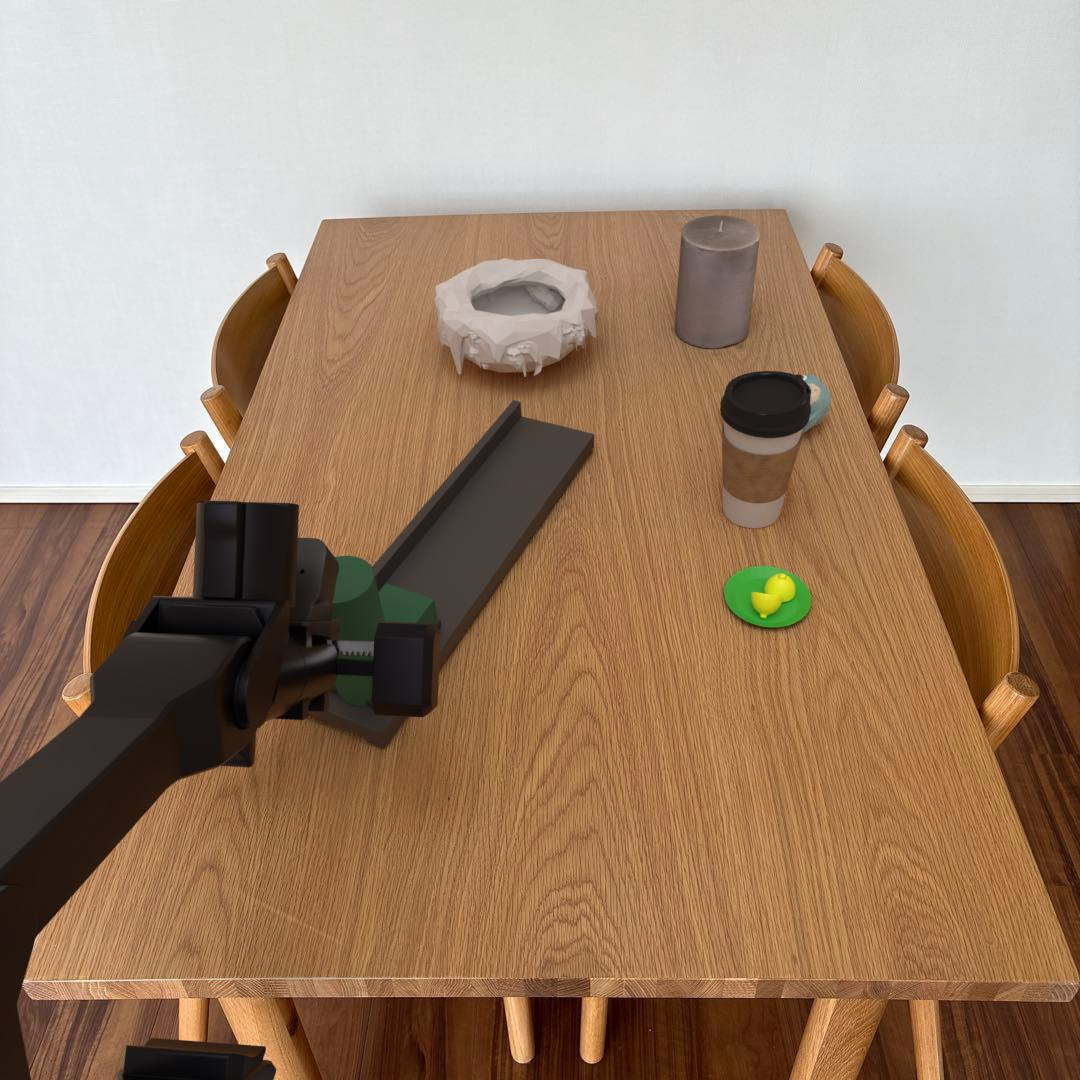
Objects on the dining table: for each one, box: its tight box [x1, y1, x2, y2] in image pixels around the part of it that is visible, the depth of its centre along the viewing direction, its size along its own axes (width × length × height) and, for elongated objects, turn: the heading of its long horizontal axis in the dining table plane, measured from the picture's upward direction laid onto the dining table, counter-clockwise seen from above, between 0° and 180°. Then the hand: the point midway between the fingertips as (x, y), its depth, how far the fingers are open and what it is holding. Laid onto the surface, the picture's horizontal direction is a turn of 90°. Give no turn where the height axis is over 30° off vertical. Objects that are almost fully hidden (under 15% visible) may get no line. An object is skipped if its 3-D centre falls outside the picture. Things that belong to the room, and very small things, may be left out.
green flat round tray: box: [723, 565, 812, 628], centre depth 89 cm, size 8×8×3 cm
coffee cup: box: [719, 370, 811, 529], centre depth 95 cm, size 8×8×15 cm
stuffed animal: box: [785, 371, 832, 434], centre depth 109 cm, size 11×7×12 cm
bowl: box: [433, 257, 599, 378], centre depth 120 cm, size 21×20×10 cm
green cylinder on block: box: [330, 555, 441, 708], centre depth 79 cm, size 11×5×12 cm, turn 155°
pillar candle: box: [674, 214, 761, 350], centre depth 121 cm, size 10×10×15 cm
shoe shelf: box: [308, 399, 595, 750], centre depth 94 cm, size 44×10×4 cm, turn 155°
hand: (339, 655), depth 74 cm, fingers open, 9 cm apart
